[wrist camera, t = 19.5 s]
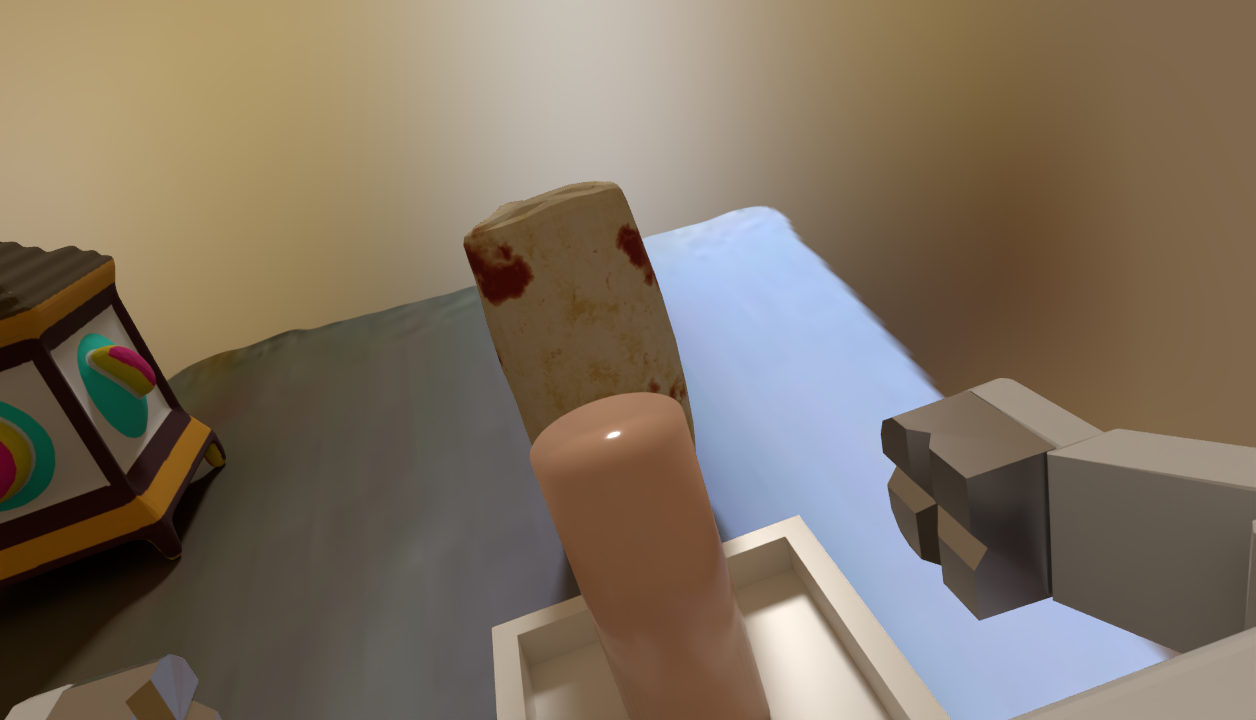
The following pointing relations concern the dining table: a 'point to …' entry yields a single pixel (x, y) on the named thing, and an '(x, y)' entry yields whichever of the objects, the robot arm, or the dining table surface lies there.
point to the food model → (573, 303)
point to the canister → (649, 558)
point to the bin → (779, 635)
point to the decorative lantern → (83, 419)
